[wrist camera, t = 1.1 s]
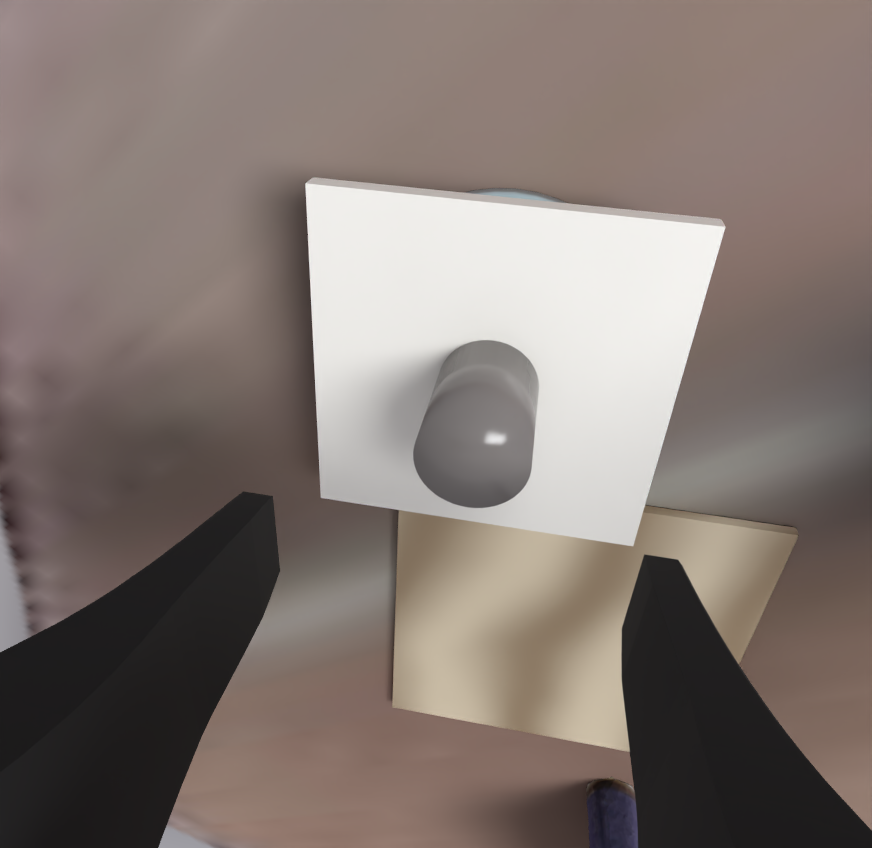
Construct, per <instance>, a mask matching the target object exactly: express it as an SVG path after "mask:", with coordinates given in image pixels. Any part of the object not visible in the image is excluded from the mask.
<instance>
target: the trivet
mask: <svg viewBox="0 0 872 848" xmlns="http://www.w3.org/2000/svg"><path fill="white" fill-rule="evenodd" d="M798 536H799V535H798V532H797V530H796V528H794V527H787V526H780V525H774V524H767V523H760V522H753V521H747V520H740V519H733V518H727V517H720V516H713V515H706V514H700V513H693V512H686V511H679V510H673V509H666V508H659V507H653V506H646V505H645V507H644V510H643V514H642V517H641V521H640V524H639V528H638V531H637V535H636V538H635V542H634V545H633V546H627V545H621V544H614V543H608V542H601V541H595V540H589V539H582V538H576V537H569V536H563V535H556V534H550V533H544V532H537V531H531V530H524V529H518V528H511V527H505V526H499V525H492V524H486V523H479V522H473V521H466V520H460V519H454V518H447V517H441V516H434V515H428V514H421V513H415V512H408V511H402V510H399V514H398V546H397V577H396V608H395V639H394V671H393V702H392V707H394V708H399V709H405V710H410V711H415V712H421V713H426V714H431V715H437V716H442V717H447V718H452V719H458V720H463V721H468V722H474V723H479V724H484V725H490V726H495V727H500V728H506V729H511V730H516V731H522V732H527V733H532V734H538V735H543V736H548V737H554V738H559V739H564V740H570V741H575V742H580V743H586V744H591V745H596V746H602V747H607V748H612V749H617V750H623V751H628V752H630V748H629V740H628V732H627V723H626V715H625V706H624V697H623V688H622V663H621V652H622V626H623V622H624V619H625V616H626V613H627V609H628V606H629V603H630V599H631V596H632V593H633V590H634V586H635V583H636V580H637V576H638V573H639V570H640V567H641V563H642V560H643V557H644V554H645V555H652V556H658V557H665V558H671V559H677V560H679V562H680V563H681V564H682V566H683V568H684V570H685V572H686V574H687V576H688V577H689V579H690V581H691V583H692V585H693V587H694V589H695V591H696V593H697V595H698V596H699V598H700V600H701V602H702V604H703V606H704V607H705V609H706V611H707V613H708V614H709V616H710V618H711V620H712V622H713V623H714V625H715V627H716V628H717V630H718V632H719V634H720V635H721V637H722V639H723V640H724V642H725V643H726V645H727V647H728V648H729V650H730V651H731V653H732V655H733V656H734V658H735V660H736V661H737V663H738V664H739V663H740V661H741V659H742V657H743V655H744V653H745V650H746V648H747V646H748V644H749V642H750V640H751V637H752V635H753V633H754V631H755V629H756V627H757V625H758V622H759V620H760V618H761V616H762V614H763V612H764V609H765V607H766V605H767V603H768V601H769V599H770V597H771V594H772V592H773V590H774V588H775V586H776V584H777V581H778V579H779V577H780V575H781V573H782V571H783V568H784V566H785V564H786V562H787V560H788V558H789V556H790V553H791V551H792V549H793V547H794V545H795V543H796V540H797V538H798Z"/></svg>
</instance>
